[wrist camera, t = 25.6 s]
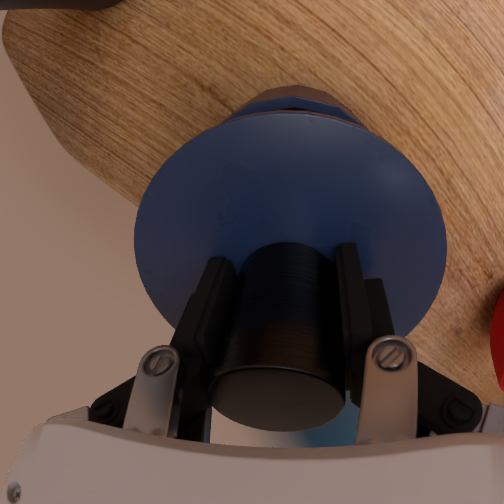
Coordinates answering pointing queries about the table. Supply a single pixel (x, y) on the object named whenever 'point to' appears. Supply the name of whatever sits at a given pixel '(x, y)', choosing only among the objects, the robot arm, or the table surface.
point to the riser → (57, 4)
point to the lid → (288, 252)
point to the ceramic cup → (498, 340)
